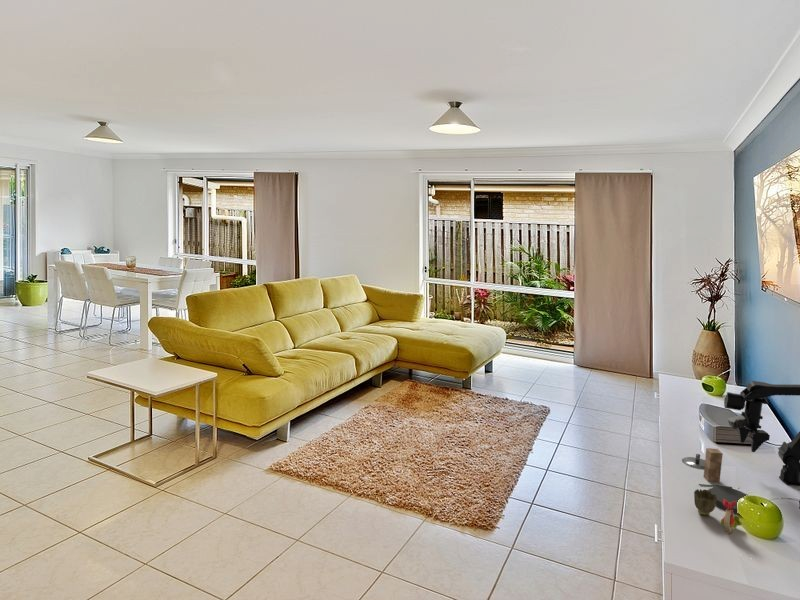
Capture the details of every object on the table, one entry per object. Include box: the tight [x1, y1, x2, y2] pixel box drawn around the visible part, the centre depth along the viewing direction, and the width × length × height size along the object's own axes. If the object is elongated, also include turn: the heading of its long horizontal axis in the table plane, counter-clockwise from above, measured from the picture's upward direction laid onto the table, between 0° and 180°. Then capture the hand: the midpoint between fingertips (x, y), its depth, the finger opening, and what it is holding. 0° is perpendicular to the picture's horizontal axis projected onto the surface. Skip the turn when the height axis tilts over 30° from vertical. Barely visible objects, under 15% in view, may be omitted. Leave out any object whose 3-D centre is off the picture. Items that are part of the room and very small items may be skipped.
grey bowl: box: [681, 453, 705, 471], centre depth 233 cm, size 12×12×5 cm
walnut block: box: [703, 447, 723, 484], centre depth 217 cm, size 4×4×13 cm
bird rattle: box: [720, 499, 743, 534], centre depth 184 cm, size 6×11×9 cm
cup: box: [693, 488, 718, 517], centre depth 194 cm, size 8×7×8 cm
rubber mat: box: [698, 483, 733, 488], centre depth 218 cm, size 12×10×1 cm
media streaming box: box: [706, 486, 748, 514], centre depth 203 cm, size 15×15×3 cm
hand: (747, 447), depth 224 cm, fingers open, 9 cm apart
